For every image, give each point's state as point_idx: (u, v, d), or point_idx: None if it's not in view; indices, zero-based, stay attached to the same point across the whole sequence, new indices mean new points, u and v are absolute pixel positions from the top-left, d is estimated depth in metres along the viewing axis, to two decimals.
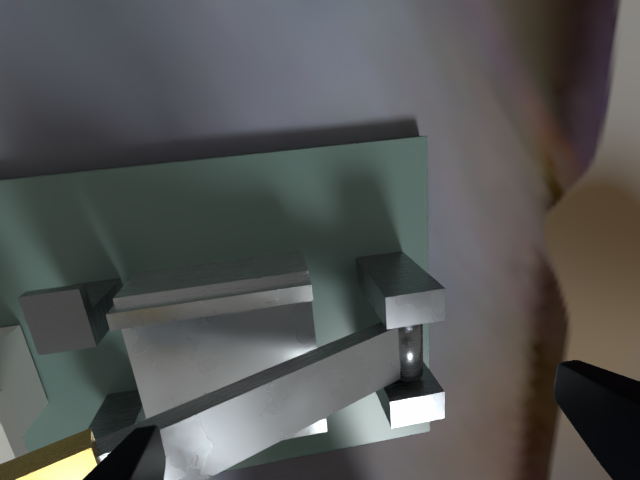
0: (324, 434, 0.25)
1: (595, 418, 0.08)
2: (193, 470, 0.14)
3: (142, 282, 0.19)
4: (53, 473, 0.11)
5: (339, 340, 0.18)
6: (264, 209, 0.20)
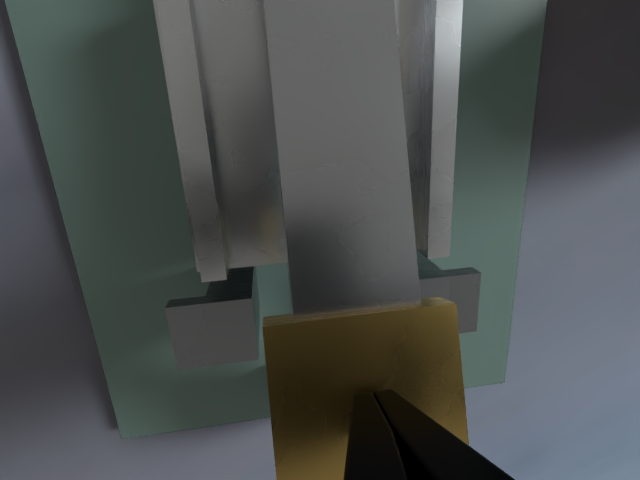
0: None
1: None
2: (382, 193, 0.09)
3: None
4: (282, 374, 0.08)
5: None
6: (109, 59, 0.14)
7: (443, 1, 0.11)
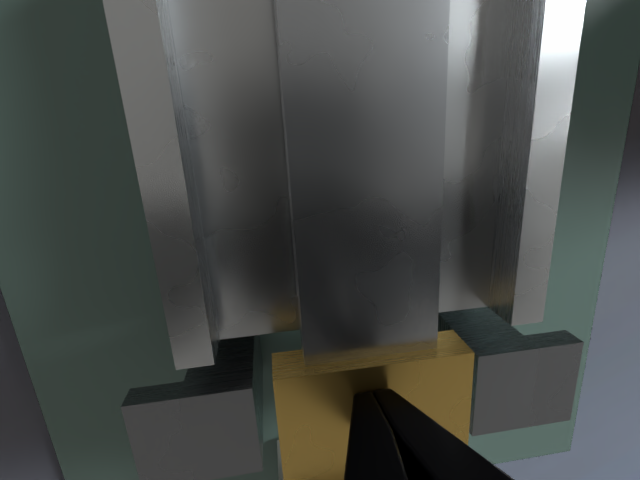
0: None
1: None
2: (408, 237, 0.08)
3: None
4: (293, 421, 0.08)
5: None
6: (47, 35, 0.10)
7: None
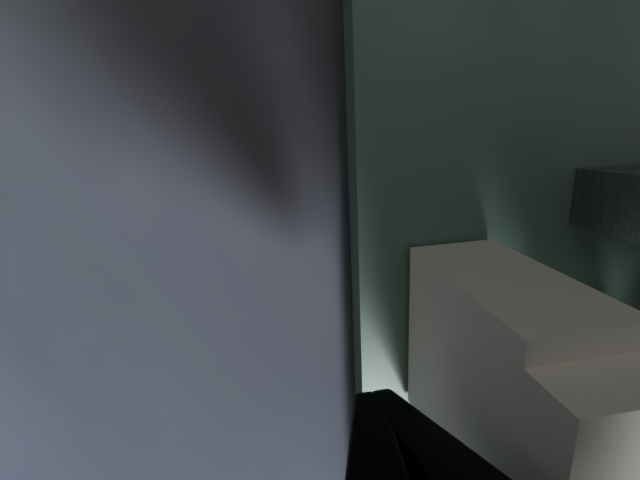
0: None
1: None
2: None
3: None
4: None
5: None
6: None
7: None
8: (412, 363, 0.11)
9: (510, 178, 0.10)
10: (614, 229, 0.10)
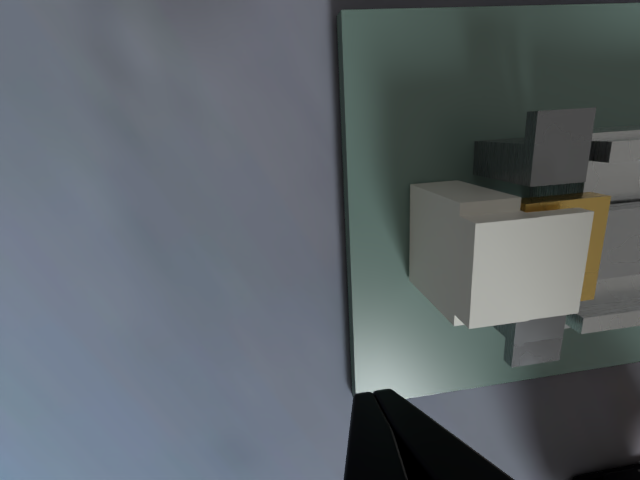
0: None
1: None
2: None
3: None
4: (584, 206, 0.15)
5: None
6: None
7: None
8: (412, 254, 0.19)
9: (435, 146, 0.18)
10: (490, 173, 0.17)
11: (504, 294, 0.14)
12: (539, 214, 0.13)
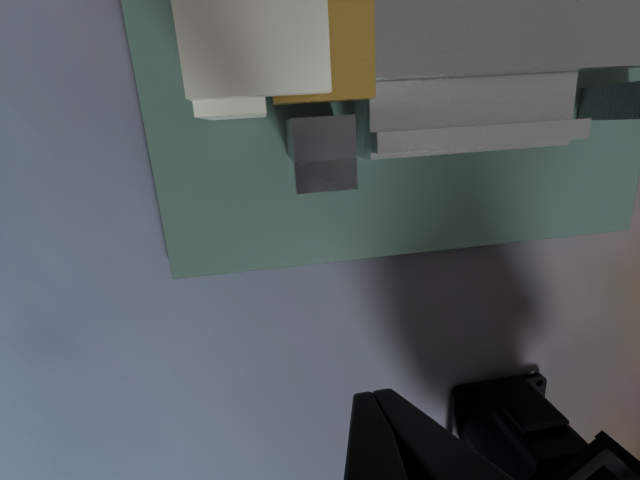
0: (516, 217, 0.21)
1: None
2: (443, 53, 0.14)
3: None
4: None
5: None
6: None
7: (563, 125, 0.15)
8: None
9: None
10: None
11: (224, 52, 0.11)
12: None
